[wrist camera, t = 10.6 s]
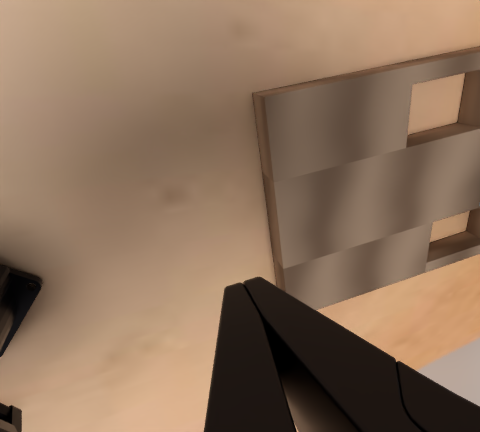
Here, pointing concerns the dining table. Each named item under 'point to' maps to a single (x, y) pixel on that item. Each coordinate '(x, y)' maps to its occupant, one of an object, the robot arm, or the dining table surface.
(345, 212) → the board
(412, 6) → the dining table surface
